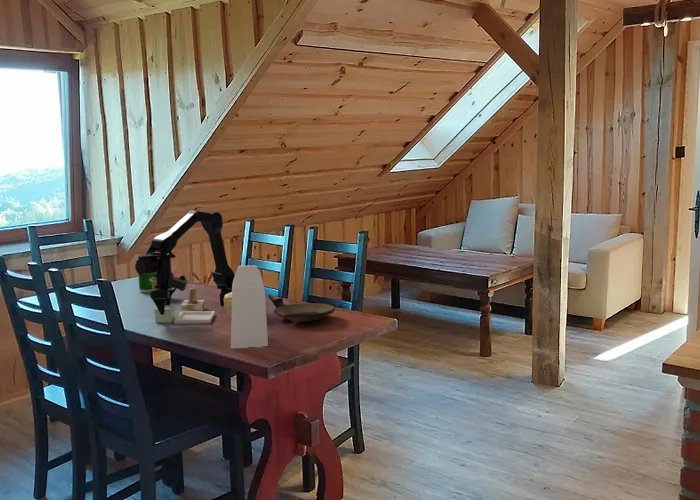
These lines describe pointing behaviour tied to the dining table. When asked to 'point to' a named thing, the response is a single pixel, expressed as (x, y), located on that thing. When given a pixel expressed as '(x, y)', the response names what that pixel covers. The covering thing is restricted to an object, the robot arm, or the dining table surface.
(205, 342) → the dining table surface
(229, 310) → the sculpture
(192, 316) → the tray
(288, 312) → the oil lamp
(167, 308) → the narrow bore block
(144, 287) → the soda can
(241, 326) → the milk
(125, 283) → the dining table surface
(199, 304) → the wide bore block
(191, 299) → the dowel pin
